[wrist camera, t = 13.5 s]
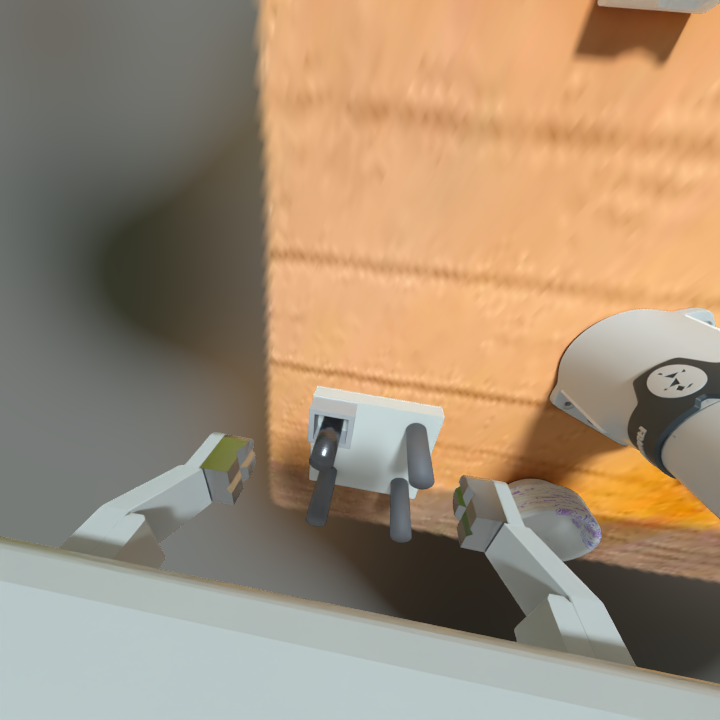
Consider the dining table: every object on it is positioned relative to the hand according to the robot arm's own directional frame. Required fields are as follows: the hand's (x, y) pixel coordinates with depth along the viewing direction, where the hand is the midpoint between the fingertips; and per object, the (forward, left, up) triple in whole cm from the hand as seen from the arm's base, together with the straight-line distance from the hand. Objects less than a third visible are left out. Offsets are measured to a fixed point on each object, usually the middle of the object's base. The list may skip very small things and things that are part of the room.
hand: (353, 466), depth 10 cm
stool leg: (-8, +19, -25) cm, 32 cm away
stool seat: (-16, +21, -27) cm, 38 cm away
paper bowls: (-45, +10, -28) cm, 54 cm away
